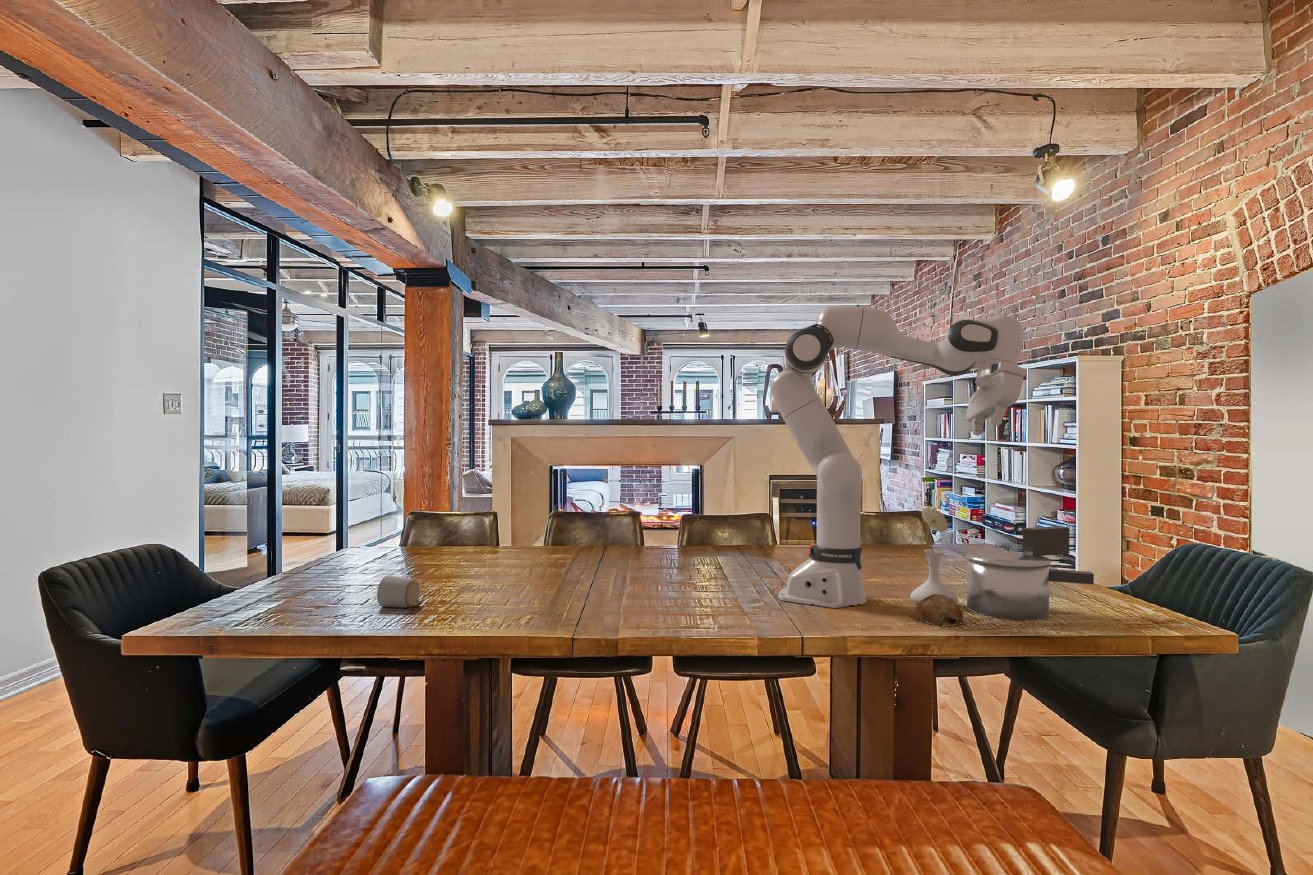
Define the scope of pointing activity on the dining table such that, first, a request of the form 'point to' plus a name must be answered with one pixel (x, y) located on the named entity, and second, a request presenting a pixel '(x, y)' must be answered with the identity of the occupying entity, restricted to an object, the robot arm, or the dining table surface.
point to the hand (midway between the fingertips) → (986, 429)
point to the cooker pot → (1015, 590)
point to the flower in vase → (933, 559)
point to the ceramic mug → (398, 592)
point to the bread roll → (939, 610)
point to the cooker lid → (1028, 549)
